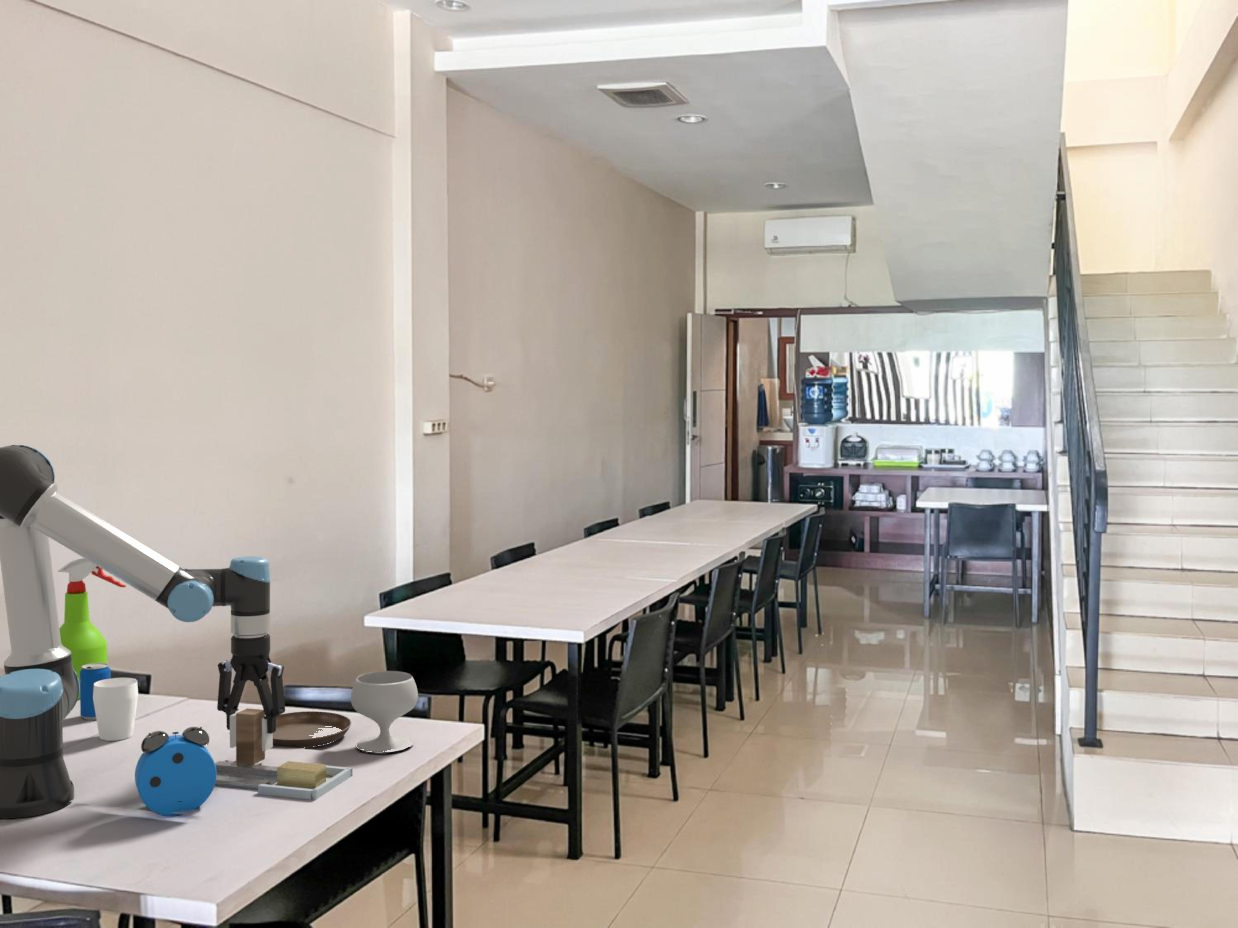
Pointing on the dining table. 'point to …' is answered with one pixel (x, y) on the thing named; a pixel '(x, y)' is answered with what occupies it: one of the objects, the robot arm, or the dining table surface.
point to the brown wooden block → (249, 736)
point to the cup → (115, 707)
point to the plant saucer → (307, 728)
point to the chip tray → (313, 794)
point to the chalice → (384, 705)
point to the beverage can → (91, 687)
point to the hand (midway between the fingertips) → (251, 746)
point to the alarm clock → (175, 771)
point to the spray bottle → (82, 617)
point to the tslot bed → (244, 775)
